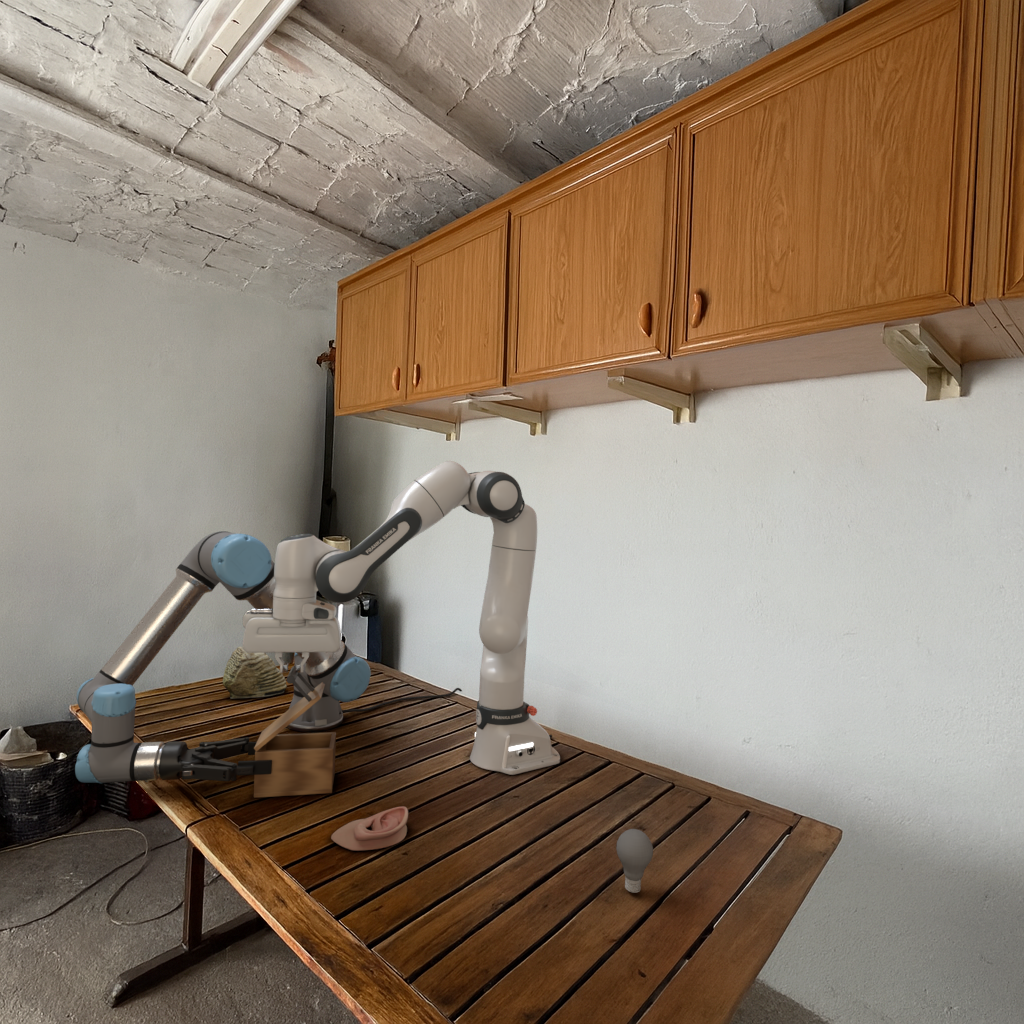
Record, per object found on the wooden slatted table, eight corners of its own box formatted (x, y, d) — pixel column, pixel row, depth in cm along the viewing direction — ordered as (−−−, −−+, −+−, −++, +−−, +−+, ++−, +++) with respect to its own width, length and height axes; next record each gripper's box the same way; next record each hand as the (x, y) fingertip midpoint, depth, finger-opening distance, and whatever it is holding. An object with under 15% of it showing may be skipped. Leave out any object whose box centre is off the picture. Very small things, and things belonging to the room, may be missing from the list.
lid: (324, 684, 144) (301, 658, 143) (321, 698, 134) (296, 670, 133) (264, 734, 141) (240, 708, 140) (256, 751, 132) (230, 723, 131)
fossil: (218, 695, 195) (220, 647, 195) (278, 685, 208) (279, 640, 207) (228, 703, 189) (230, 653, 188) (289, 692, 201) (290, 645, 201)
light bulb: (610, 879, 108) (613, 822, 108) (644, 879, 109) (647, 822, 109) (619, 902, 102) (622, 840, 102) (655, 901, 103) (658, 840, 103)
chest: (334, 773, 145) (336, 731, 145) (331, 793, 135) (333, 748, 135) (261, 777, 142) (263, 734, 141) (253, 797, 132) (254, 752, 132)
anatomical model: (323, 824, 115) (352, 795, 126) (322, 845, 115) (351, 815, 126) (392, 835, 112) (415, 805, 123) (391, 857, 112) (414, 825, 123)
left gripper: (179, 757, 144) (282, 753, 148) (143, 804, 122) (265, 798, 127) (180, 724, 144) (283, 721, 148) (144, 765, 122) (267, 760, 126)
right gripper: (240, 611, 132) (237, 676, 132) (341, 611, 136) (338, 675, 137) (246, 605, 138) (244, 668, 139) (343, 606, 143) (340, 667, 143)
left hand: (275, 756), depth 137 cm, fingers closed on chest, 10 cm apart
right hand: (291, 672), depth 138 cm, fingers closed
